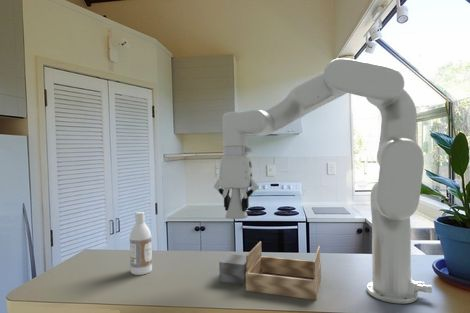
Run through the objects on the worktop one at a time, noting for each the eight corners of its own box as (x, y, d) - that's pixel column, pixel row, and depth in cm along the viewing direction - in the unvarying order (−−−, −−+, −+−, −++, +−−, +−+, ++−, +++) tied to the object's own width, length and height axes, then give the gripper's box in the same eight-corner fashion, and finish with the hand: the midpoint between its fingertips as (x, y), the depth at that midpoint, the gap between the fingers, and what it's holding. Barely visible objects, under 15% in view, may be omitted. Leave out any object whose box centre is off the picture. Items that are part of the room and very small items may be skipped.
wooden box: (321, 277, 101) (320, 245, 100) (316, 299, 86) (315, 262, 86) (260, 270, 107) (259, 240, 107) (245, 290, 92) (245, 255, 92)
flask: (245, 220, 97) (245, 187, 97) (222, 219, 98) (221, 186, 98) (249, 215, 104) (249, 184, 104) (227, 214, 105) (227, 184, 105)
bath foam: (143, 276, 104) (141, 215, 104) (126, 273, 107) (124, 213, 107) (156, 269, 111) (154, 211, 110) (140, 266, 113) (138, 210, 113)
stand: (252, 274, 104) (251, 256, 104) (244, 284, 97) (244, 264, 96) (228, 271, 107) (228, 253, 107) (219, 281, 99) (219, 262, 99)
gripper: (264, 151, 101) (265, 209, 102) (214, 152, 107) (215, 206, 107) (258, 151, 94) (259, 214, 95) (205, 152, 100) (206, 211, 100)
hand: (236, 209), depth 101 cm, fingers closed on flask, 4 cm apart
